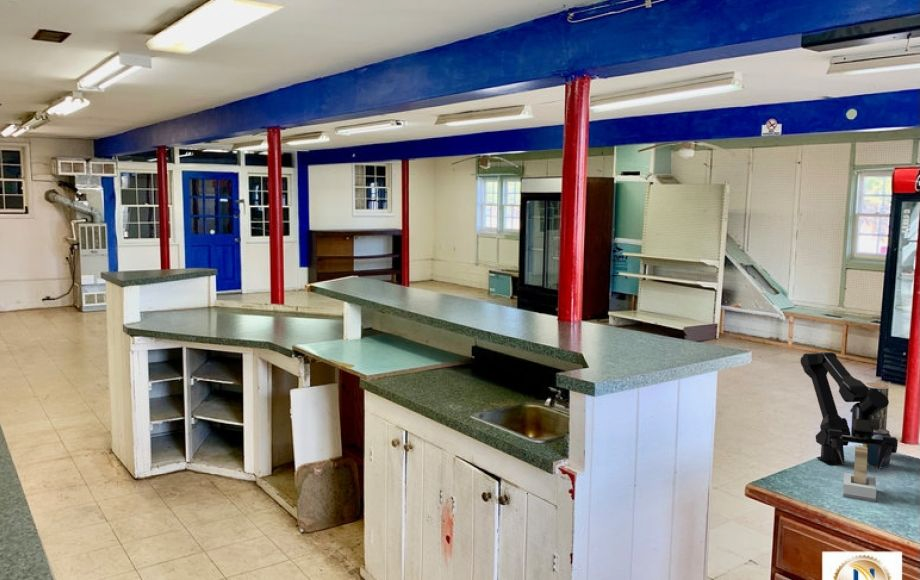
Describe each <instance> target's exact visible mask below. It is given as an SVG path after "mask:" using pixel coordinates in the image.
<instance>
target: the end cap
mask: <svg viewBox="0 0 920 580" xmlns="http://www.w3.org/2000/svg"><path fill="white" fill-rule="evenodd" d="M876 479H877V477H875V476H868V475H866V485H862V484H856V483H853V481H854V473H850V472H849V473H848V472H843V490H842V497H843V496H844V498H849V497H850V499H856V500H861V501H868V502H873V503H876V502H877V500H876V499H877V481H876Z"/></svg>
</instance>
